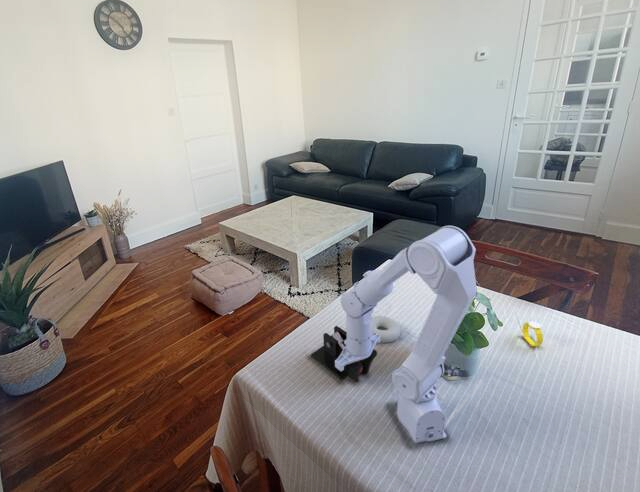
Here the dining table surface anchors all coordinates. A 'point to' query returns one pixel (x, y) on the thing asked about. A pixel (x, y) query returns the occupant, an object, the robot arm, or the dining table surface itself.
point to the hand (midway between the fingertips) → (358, 376)
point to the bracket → (331, 353)
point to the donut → (386, 323)
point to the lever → (341, 346)
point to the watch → (537, 329)
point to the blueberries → (451, 373)
